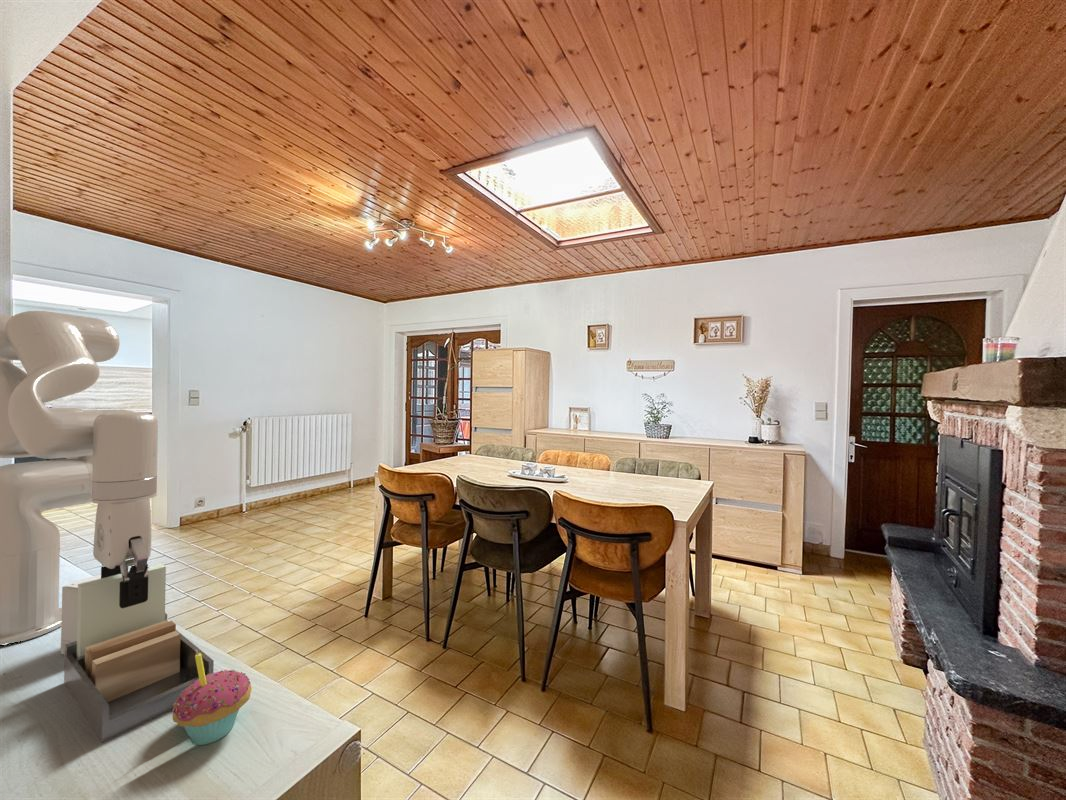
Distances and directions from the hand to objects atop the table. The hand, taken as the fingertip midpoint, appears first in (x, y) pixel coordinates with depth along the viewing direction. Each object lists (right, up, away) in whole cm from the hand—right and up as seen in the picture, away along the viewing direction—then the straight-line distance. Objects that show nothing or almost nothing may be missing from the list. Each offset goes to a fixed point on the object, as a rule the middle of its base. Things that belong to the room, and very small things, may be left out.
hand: (123, 595), depth 69 cm
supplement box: (-10, -13, +6) cm, 18 cm away
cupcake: (+22, -14, -11) cm, 28 cm away
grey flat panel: (0, -12, 0) cm, 12 cm away
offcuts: (+4, -12, -3) cm, 13 cm away
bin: (+6, -13, -4) cm, 15 cm away
